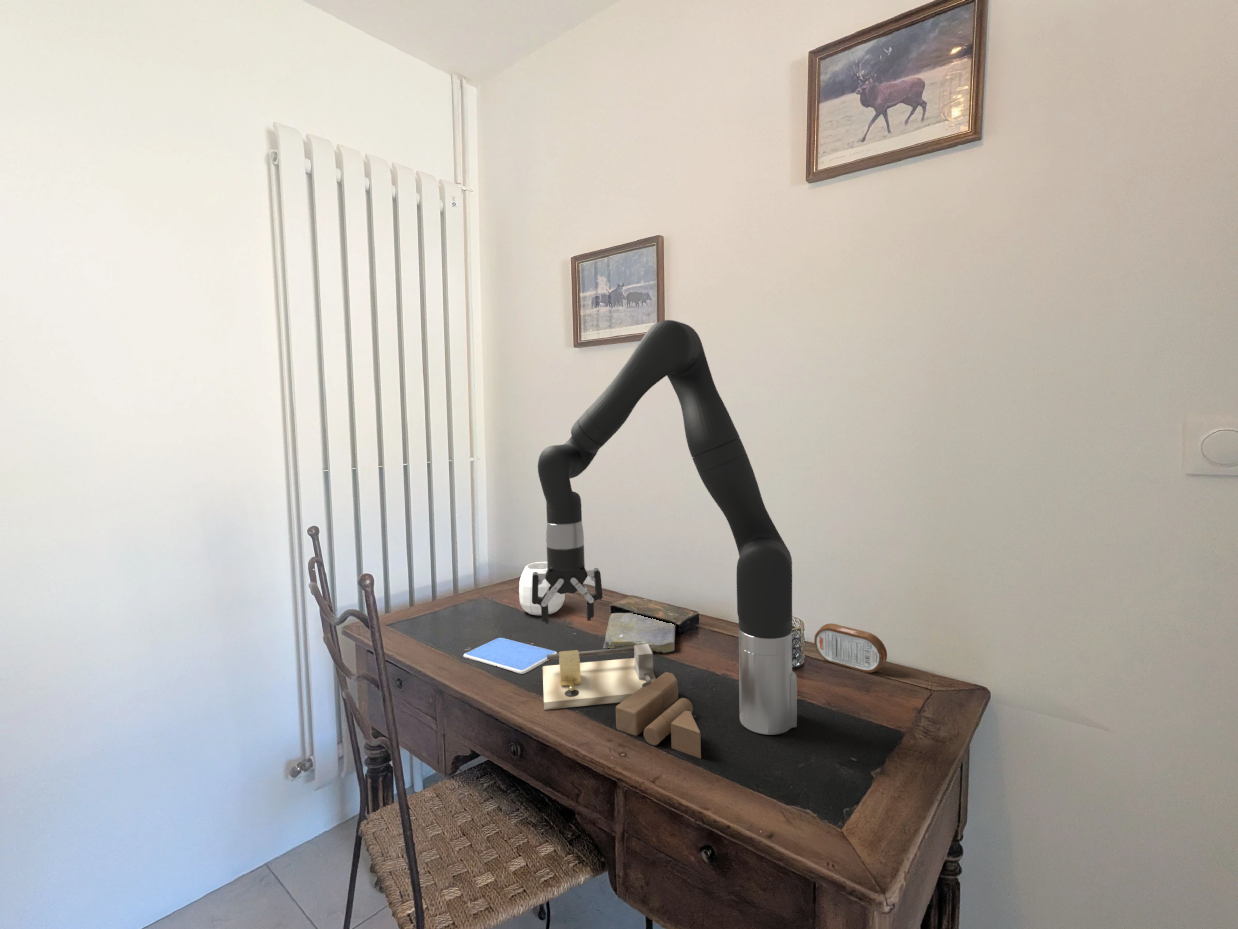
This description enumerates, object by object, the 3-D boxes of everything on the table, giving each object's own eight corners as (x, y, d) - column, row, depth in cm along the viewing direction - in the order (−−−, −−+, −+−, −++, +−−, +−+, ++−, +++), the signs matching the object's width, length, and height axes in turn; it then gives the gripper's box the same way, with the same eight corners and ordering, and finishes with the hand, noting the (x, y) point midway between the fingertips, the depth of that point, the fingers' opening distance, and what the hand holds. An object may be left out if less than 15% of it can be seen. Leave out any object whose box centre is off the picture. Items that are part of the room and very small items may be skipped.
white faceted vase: (563, 619, 158) (561, 571, 157) (515, 620, 158) (513, 572, 157) (567, 603, 171) (566, 559, 170) (524, 604, 171) (522, 560, 170)
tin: (887, 673, 120) (887, 635, 120) (882, 679, 118) (882, 639, 117) (818, 654, 131) (818, 618, 130) (812, 659, 128) (812, 622, 128)
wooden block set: (611, 703, 101) (663, 665, 116) (612, 733, 101) (664, 692, 116) (697, 730, 91) (742, 685, 106) (697, 764, 92) (742, 715, 106)
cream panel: (646, 663, 128) (645, 634, 128) (661, 698, 112) (660, 664, 112) (542, 672, 125) (541, 642, 124) (544, 709, 109) (542, 675, 109)
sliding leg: (578, 673, 120) (578, 650, 120) (582, 692, 112) (581, 667, 112) (559, 674, 120) (558, 651, 119) (561, 694, 111) (560, 669, 111)
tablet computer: (461, 658, 135) (461, 653, 135) (500, 640, 145) (499, 635, 145) (522, 677, 124) (522, 671, 124) (559, 656, 135) (558, 651, 135)
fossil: (601, 659, 134) (675, 656, 132) (600, 640, 134) (673, 636, 132) (612, 629, 154) (676, 626, 152) (610, 613, 154) (674, 609, 152)
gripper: (529, 549, 110) (532, 631, 112) (602, 545, 112) (604, 625, 114) (529, 541, 118) (532, 617, 119) (598, 537, 120) (600, 612, 121)
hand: (568, 621), depth 117 cm, fingers open, 8 cm apart
